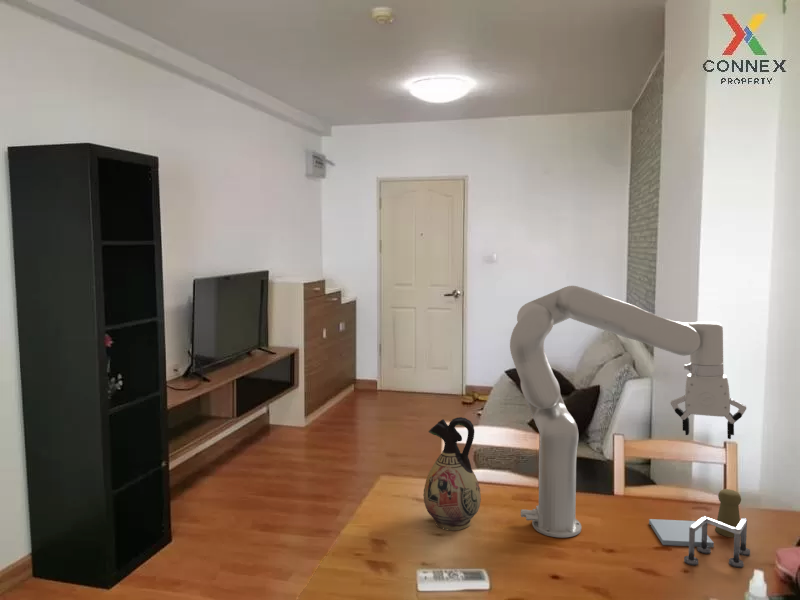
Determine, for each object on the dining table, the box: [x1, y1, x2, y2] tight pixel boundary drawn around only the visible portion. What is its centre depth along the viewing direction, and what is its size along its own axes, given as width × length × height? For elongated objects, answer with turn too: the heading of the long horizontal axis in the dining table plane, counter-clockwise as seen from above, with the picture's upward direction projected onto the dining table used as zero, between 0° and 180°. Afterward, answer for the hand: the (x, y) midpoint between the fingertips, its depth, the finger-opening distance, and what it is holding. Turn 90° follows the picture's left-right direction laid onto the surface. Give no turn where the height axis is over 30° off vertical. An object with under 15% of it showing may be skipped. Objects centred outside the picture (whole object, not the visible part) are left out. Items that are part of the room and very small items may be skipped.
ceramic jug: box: [422, 416, 482, 531], centre depth 161 cm, size 17×15×30 cm
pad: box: [648, 518, 715, 548], centre depth 155 cm, size 12×12×1 cm
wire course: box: [683, 515, 751, 569], centre depth 144 cm, size 17×9×9 cm, turn 83°
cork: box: [714, 488, 742, 538], centre depth 156 cm, size 6×6×11 cm
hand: (708, 435), depth 155 cm, fingers open, 9 cm apart
